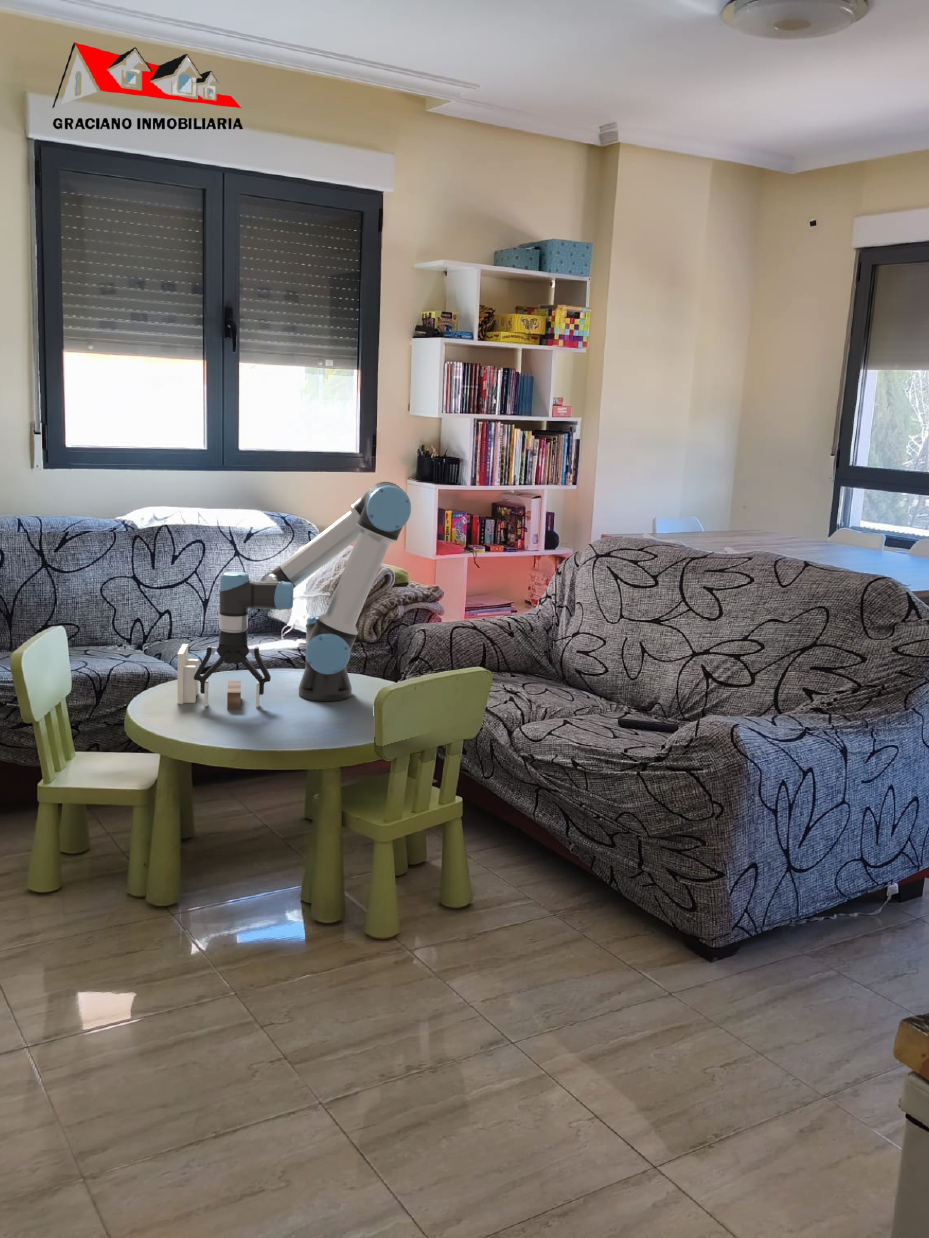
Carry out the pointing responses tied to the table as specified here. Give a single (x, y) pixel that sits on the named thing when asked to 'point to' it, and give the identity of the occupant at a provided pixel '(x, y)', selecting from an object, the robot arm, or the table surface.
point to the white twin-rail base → (187, 677)
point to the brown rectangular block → (234, 695)
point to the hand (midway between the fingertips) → (232, 705)
